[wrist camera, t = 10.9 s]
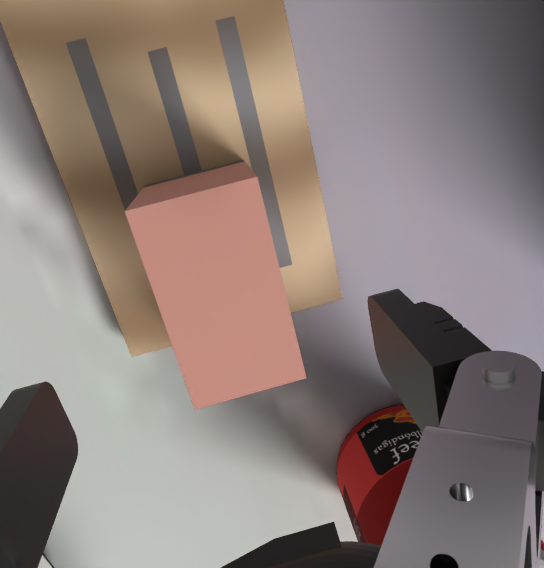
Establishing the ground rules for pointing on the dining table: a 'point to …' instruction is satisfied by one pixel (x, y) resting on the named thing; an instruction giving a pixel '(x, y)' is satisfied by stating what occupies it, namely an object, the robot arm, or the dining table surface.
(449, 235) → the dining table surface
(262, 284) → the block
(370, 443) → the canned food
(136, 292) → the board
